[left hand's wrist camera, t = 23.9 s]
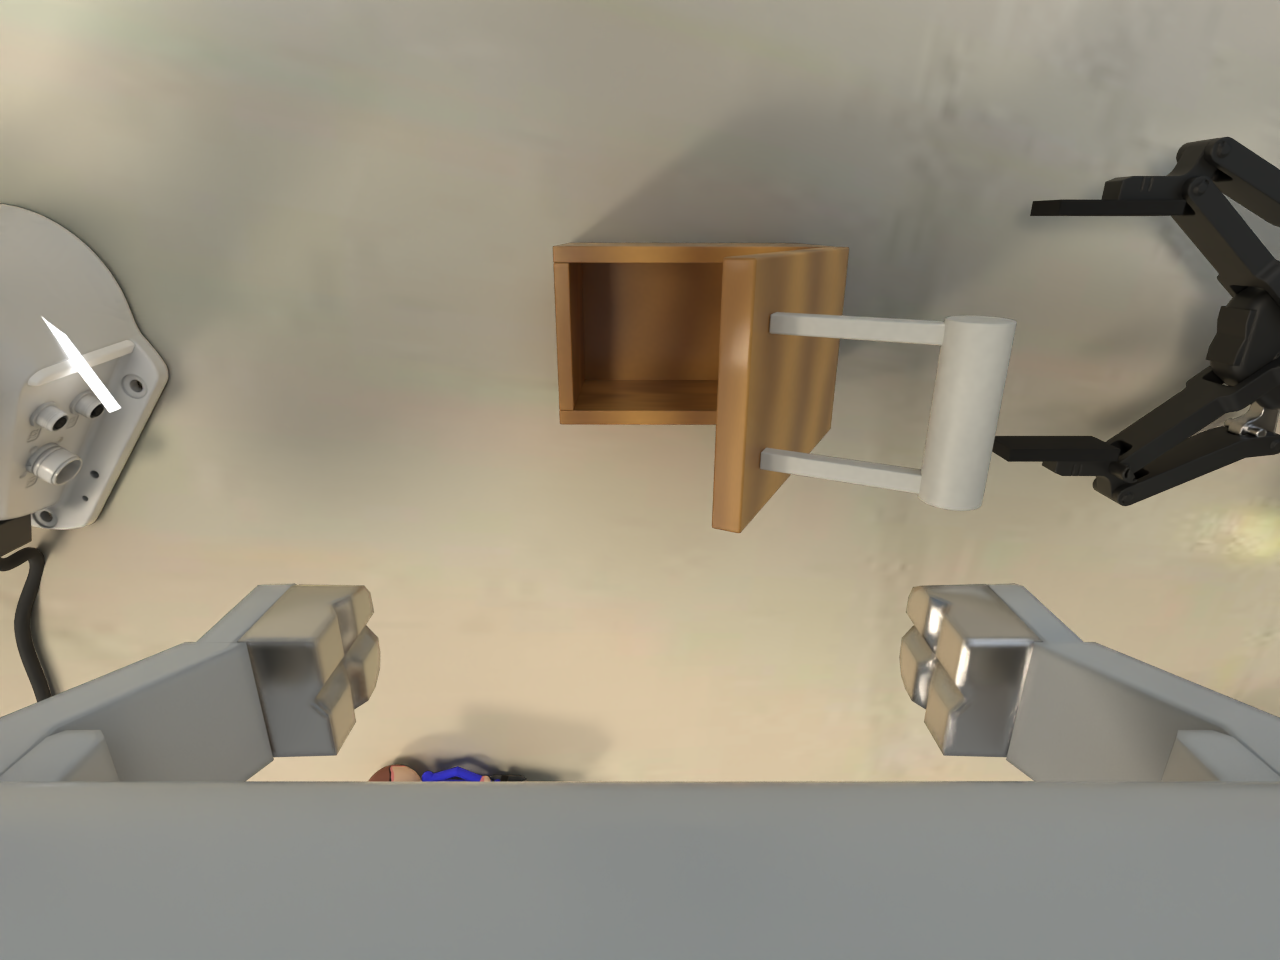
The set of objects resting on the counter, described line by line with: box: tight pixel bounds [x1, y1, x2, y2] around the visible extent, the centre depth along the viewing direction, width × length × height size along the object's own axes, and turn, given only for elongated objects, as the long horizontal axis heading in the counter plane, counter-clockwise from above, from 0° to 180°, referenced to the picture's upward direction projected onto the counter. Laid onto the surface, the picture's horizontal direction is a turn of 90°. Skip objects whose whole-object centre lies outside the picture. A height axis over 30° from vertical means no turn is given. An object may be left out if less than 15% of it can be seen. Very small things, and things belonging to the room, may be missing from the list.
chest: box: [553, 243, 833, 425], centre depth 41 cm, size 15×10×9 cm, turn 90°
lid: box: [712, 247, 1017, 533], centre depth 28 cm, size 16×10×9 cm
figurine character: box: [368, 764, 526, 782], centre depth 56 cm, size 7×8×15 cm
